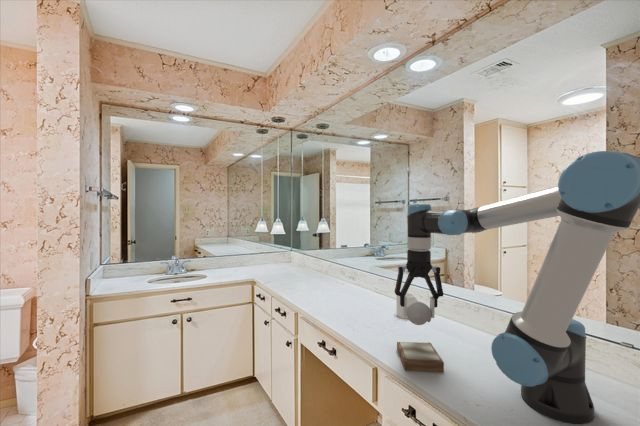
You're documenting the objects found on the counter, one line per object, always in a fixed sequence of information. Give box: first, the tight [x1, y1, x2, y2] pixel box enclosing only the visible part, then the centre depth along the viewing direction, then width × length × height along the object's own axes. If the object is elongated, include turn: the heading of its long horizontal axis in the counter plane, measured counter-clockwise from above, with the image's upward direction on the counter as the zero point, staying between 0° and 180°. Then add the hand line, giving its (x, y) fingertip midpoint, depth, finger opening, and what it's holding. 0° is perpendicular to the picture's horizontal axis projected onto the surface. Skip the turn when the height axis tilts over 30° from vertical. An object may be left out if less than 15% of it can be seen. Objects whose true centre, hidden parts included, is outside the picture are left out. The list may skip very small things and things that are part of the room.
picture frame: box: [396, 341, 445, 373], centre depth 102 cm, size 14×12×3 cm
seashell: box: [407, 300, 432, 326], centre depth 104 cm, size 9×11×15 cm
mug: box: [396, 292, 418, 320], centre depth 146 cm, size 12×8×10 cm
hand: (418, 316), depth 102 cm, fingers closed on seashell, 8 cm apart
